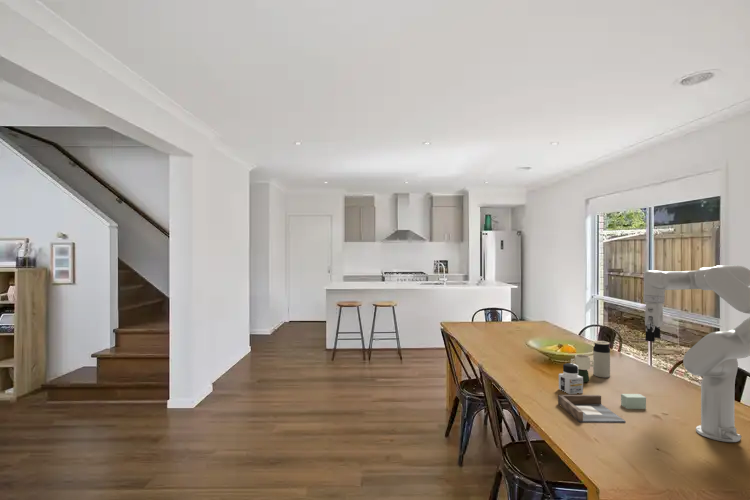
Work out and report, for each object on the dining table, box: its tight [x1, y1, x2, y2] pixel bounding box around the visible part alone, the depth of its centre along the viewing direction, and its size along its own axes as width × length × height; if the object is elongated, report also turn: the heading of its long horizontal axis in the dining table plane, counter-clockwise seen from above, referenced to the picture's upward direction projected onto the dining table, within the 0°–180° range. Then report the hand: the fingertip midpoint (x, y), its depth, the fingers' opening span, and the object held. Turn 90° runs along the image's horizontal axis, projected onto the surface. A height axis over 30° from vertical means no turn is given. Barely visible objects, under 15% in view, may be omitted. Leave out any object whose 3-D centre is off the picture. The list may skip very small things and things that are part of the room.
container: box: [558, 362, 584, 395], centre depth 204 cm, size 8×8×13 cm
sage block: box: [620, 393, 647, 410], centre depth 184 cm, size 4×8×5 cm, turn 89°
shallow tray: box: [557, 394, 626, 424], centre depth 177 cm, size 20×18×4 cm
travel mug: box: [592, 340, 611, 379], centre depth 229 cm, size 8×8×18 cm
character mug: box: [570, 354, 594, 383], centre depth 220 cm, size 11×7×13 cm, turn 74°
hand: (652, 339), depth 182 cm, fingers open, 9 cm apart
